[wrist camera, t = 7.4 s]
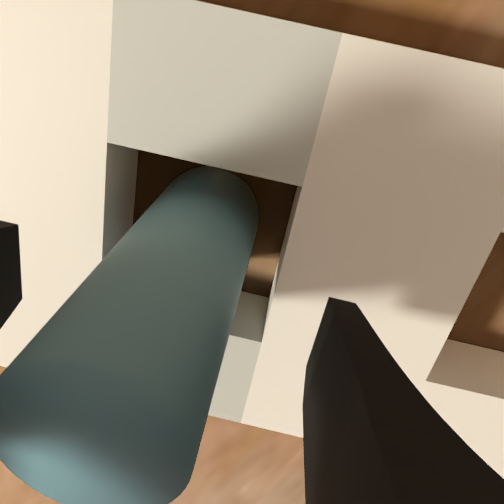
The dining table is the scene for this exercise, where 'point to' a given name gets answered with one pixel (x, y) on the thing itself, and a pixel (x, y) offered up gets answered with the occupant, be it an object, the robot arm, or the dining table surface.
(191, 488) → the dining table surface
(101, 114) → the peg board
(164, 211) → the peg
